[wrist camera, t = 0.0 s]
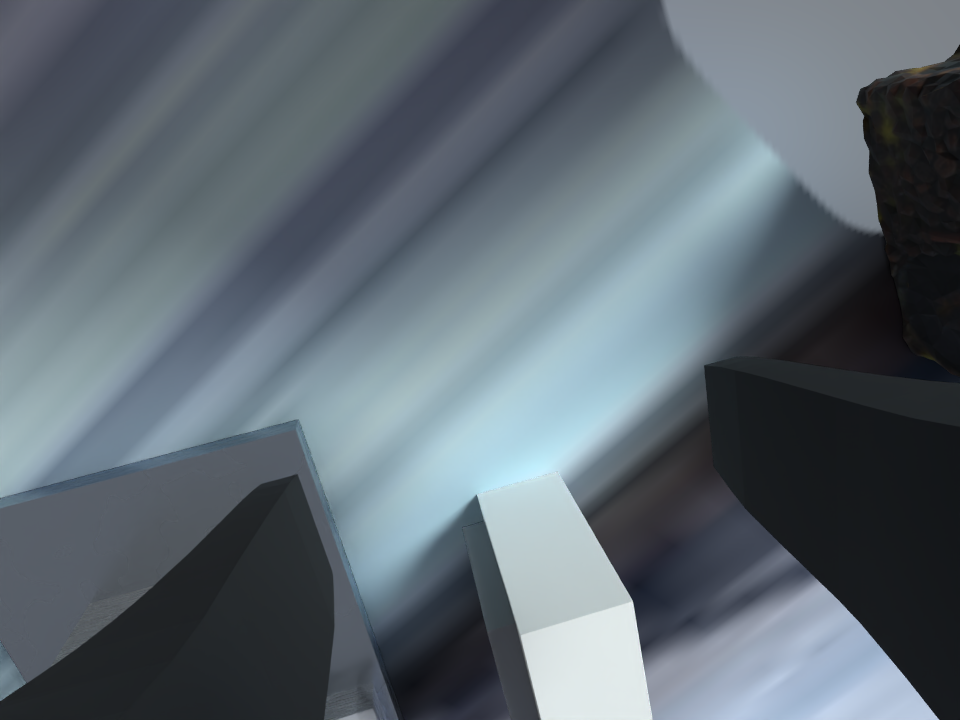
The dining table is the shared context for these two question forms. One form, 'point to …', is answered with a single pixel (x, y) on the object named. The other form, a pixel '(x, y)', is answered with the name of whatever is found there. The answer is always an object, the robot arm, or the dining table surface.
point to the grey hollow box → (164, 554)
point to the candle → (920, 198)
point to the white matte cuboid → (554, 608)
